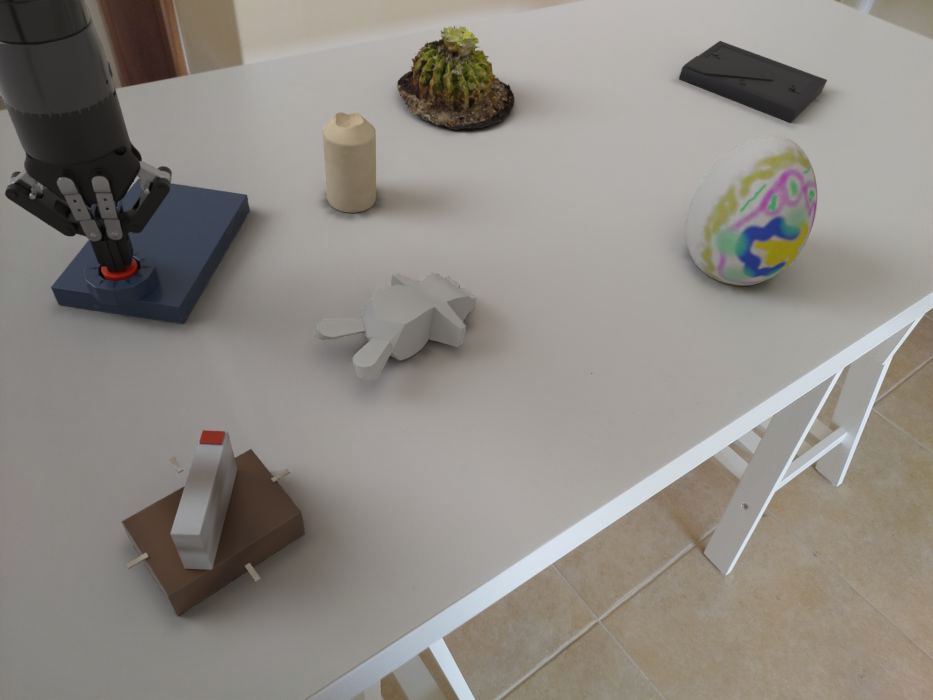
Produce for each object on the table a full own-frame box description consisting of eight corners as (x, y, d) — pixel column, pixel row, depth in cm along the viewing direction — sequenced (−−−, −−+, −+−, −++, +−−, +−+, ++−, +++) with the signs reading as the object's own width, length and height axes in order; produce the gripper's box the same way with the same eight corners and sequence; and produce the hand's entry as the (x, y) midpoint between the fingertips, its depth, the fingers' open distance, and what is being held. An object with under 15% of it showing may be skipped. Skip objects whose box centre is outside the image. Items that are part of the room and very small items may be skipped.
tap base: (179, 657, 48) (169, 638, 45) (101, 526, 53) (88, 503, 51) (338, 550, 54) (335, 527, 51) (251, 442, 59) (246, 418, 57)
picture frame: (678, 79, 111) (790, 123, 104) (682, 64, 109) (797, 108, 103) (715, 52, 119) (822, 91, 112) (720, 38, 117) (828, 77, 110)
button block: (179, 331, 67) (170, 299, 64) (52, 311, 68) (37, 278, 65) (250, 211, 80) (244, 180, 77) (143, 195, 81) (134, 163, 78)
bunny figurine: (501, 299, 68) (374, 362, 59) (490, 340, 71) (369, 406, 62) (432, 248, 72) (304, 299, 63) (425, 289, 75) (303, 344, 66)
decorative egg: (700, 303, 76) (753, 179, 65) (657, 230, 84) (697, 109, 73) (806, 295, 78) (874, 173, 67) (754, 224, 86) (807, 106, 75)
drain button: (132, 293, 67) (127, 279, 65) (100, 288, 67) (94, 274, 65) (146, 272, 69) (142, 258, 67) (115, 267, 69) (110, 253, 68)
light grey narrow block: (212, 570, 49) (199, 533, 45) (184, 569, 48) (169, 532, 45) (237, 468, 54) (227, 428, 51) (213, 467, 54) (201, 427, 51)
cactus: (528, 129, 97) (539, 57, 90) (409, 135, 94) (411, 61, 87) (495, 68, 108) (503, 0, 101) (388, 71, 105) (388, 1, 98)
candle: (316, 200, 83) (310, 118, 75) (349, 179, 86) (346, 99, 79) (354, 219, 81) (351, 138, 74) (386, 197, 84) (386, 117, 77)
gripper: (-58, 112, 50) (31, 299, 63) (148, 107, 53) (194, 288, 65) (-30, 61, 55) (47, 244, 68) (157, 59, 58) (198, 235, 70)
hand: (119, 265), depth 66 cm, fingers closed
